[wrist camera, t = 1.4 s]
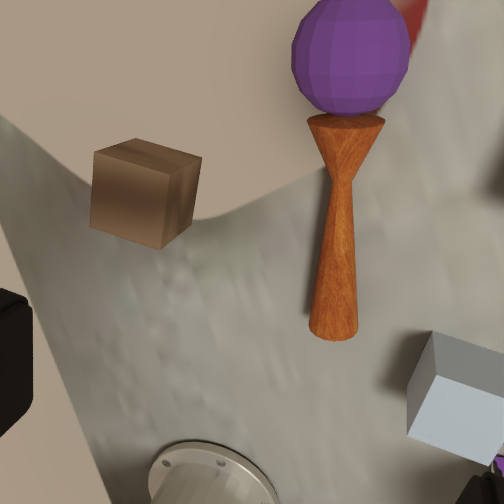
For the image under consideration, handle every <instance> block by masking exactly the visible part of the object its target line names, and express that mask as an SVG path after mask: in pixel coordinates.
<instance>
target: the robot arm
mask: <svg viewBox="0 0 504 504" xmlns="http://www.w3.org/2000/svg"><path fill="white" fill-rule="evenodd" d="M32 400H33V311H32V308H31V307H30V306H29V305H28V300H27V299H26V298H25V297H24V296H21V295H19V294H16V293H13V292H11V291H8V290H5V289H3V288H0V437H1V436H2V435H3V434H4V433H5V432H6V431H7V430H9V428H11V427H12V426H13V425H14V423H16V422H17V421H18V420H19V419H20V418H21V417H22V416H23V415H24V414H25V413H26V412H27V410H28V409H29V407H30V405H31V403H32ZM148 489H149V493H150V496H151V499H152V501H151V503H150V504H279V500H278V498H277V495H276V493H275V491H274V489H273V487H272V486H271V484H270V483H269V481H268V479H267V478H266V477H265V476H264V475H263V474H262V473H261V472H260V471H259V469H258V468H256V467H255V466H254V465H253V464H251V463H250V462H249V461H248V460H246V459H245V458H243V457H241V456H240V455H238V454H237V453H235V452H233V451H230V450H228V449H226V448H224V447H220V446H217V445H214V444H210V443H202V442H184V443H180V444H175V445H173V446H171V447H169V448H167V449H165V450H164V451H163V452H162V453H161V454H159V456H158V457H157V459H156V460H155V462H154V463H153V465H152V467H151V469H150V472H149V476H148ZM455 504H504V477H503V476H500V475H498V474H495V473H492V472H486V473H484V475H483V476H482V477H479V476H477V475H474V476H472V478H471V479H470V480H469V482H468V484H467V485H466V487H465V488H464V490H463V492H462V493H461V495H460V497H459V498H458V500H457V502H456V503H455Z"/></svg>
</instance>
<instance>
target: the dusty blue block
mask: <svg viewBox="0 0 504 504" xmlns="http://www.w3.org/2000/svg"><path fill="white" fill-rule="evenodd" d="M407 436H408V437H411V438H414V439H416V440H419V441H422V442H424V443H427V444H430V445H432V446H435V447H438V448H440V449H443V450H446V451H449V452H451V453H454V454H457V455H459V456H462V457H465V458H467V459H470V460H473V461H475V462H478V463H481V464H483V465H486V466H489V465H490V464H491V462H492V460H493V459H494V457H495V456H496V454H497V452H498V451H499V449H500V447H501V446H502V444H503V443H504V354H502V353H499V352H496V351H493V350H490V349H487V348H484V347H481V346H478V345H474V344H471V343H468V342H465V341H462V340H459V339H456V338H453V337H450V336H447V335H444V334H441V333H438V332H435V331H432V333H431V335H430V337H429V339H428V342H427V344H426V346H425V348H424V350H423V352H422V355H421V357H420V359H419V361H418V363H417V366H416V368H415V370H414V372H413V374H412V377H411V379H410V381H409V383H408V385H407Z"/></svg>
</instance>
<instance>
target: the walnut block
mask: <svg viewBox="0 0 504 504" xmlns="http://www.w3.org/2000/svg"><path fill="white" fill-rule="evenodd" d="M201 163H202V157H199V156H195V155H192V154H189V153H185V152H182V151H179V150H175V149H172V148H168V147H165V146H161V145H158V144H154V143H151V142H148V141H144V140H141V139H137V138H135V139H131V140H129V141H125V142H122V143H120V144H117V145H113V146H110V147H107V148H104V149H101V150H98V151H95V152H94V163H93V180H92V197H91V214H90V227H92V228H95V229H98V230H101V231H104V232H107V233H110V234H113V235H116V236H119V237H121V238H124V239H127V240H130V241H133V242H136V243H139V244H142V245H145V246H148V247H151V248H154V249H157V250H161V249H162V248H163V247H164V246H166V245H167V244H168V243H169V242H171V241H172V240H173V239H174V238H176V237H177V236H178V235H179V234H180V233H182V232H183V231H184V230H185V229H187V228H188V227H189V226H190V225H191V222H192V218H193V212H194V206H195V200H196V193H197V188H198V181H199V175H200V169H201Z"/></svg>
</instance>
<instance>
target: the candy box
mask: <svg viewBox="0 0 504 504" xmlns="http://www.w3.org/2000/svg"><path fill="white" fill-rule="evenodd" d="M491 472H492V473H495V474H498V475H500V476H503V477H504V458H503V457H496V456H495V457H494V459H493V460H492V466H491Z"/></svg>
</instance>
